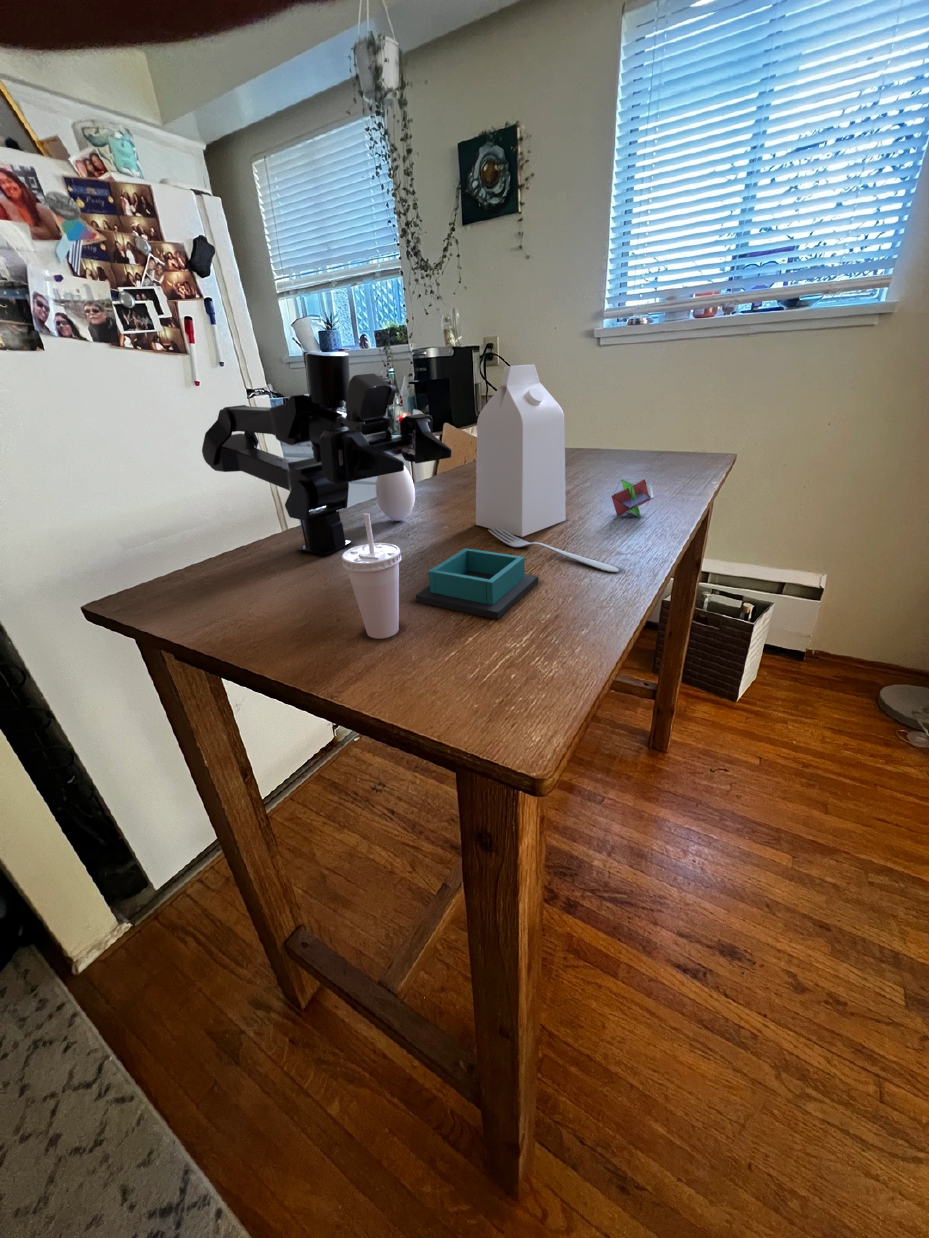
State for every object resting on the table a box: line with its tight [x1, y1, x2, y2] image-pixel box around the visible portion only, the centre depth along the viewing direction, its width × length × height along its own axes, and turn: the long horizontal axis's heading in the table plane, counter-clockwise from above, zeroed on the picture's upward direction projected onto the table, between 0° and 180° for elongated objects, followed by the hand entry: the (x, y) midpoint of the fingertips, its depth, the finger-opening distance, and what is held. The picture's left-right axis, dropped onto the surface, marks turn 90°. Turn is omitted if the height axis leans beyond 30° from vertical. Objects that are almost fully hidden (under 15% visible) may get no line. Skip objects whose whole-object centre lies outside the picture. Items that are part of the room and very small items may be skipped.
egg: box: [375, 465, 416, 522], centre depth 96 cm, size 7×7×12 cm
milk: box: [475, 364, 567, 538], centre depth 87 cm, size 12×12×26 cm
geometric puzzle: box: [610, 478, 655, 518], centre depth 92 cm, size 7×7×8 cm
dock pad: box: [415, 547, 539, 621], centre depth 66 cm, size 12×12×4 cm
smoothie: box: [341, 512, 402, 639], centre depth 55 cm, size 6×6×14 cm
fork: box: [487, 526, 620, 573], centre depth 77 cm, size 3×24×2 cm, turn 43°
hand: (428, 459), depth 64 cm, fingers open, 9 cm apart
